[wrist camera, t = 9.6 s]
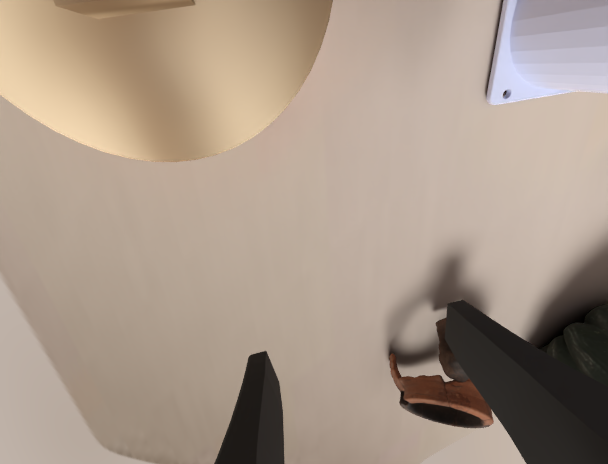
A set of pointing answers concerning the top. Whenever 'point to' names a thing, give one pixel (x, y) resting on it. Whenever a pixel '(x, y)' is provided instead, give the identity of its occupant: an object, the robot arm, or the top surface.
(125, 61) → the lid
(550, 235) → the top surface
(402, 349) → the top surface
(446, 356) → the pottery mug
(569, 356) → the squash
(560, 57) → the robot arm
